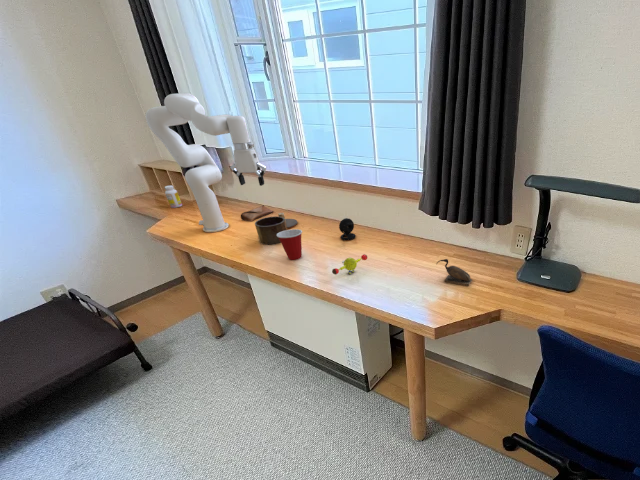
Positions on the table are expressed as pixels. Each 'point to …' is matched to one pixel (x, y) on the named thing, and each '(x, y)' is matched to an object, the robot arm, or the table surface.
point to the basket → (270, 229)
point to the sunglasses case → (255, 213)
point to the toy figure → (349, 264)
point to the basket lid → (288, 221)
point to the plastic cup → (291, 243)
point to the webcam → (347, 229)
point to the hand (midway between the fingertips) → (252, 184)
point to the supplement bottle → (173, 197)
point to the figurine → (457, 275)
